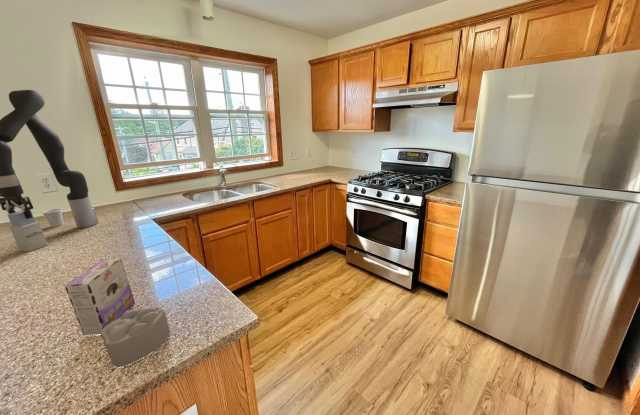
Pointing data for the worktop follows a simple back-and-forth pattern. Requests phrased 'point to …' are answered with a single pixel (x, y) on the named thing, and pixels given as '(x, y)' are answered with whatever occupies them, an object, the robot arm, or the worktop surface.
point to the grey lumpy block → (135, 335)
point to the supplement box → (29, 237)
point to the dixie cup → (54, 217)
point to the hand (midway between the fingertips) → (21, 218)
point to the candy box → (100, 295)
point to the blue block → (20, 219)
